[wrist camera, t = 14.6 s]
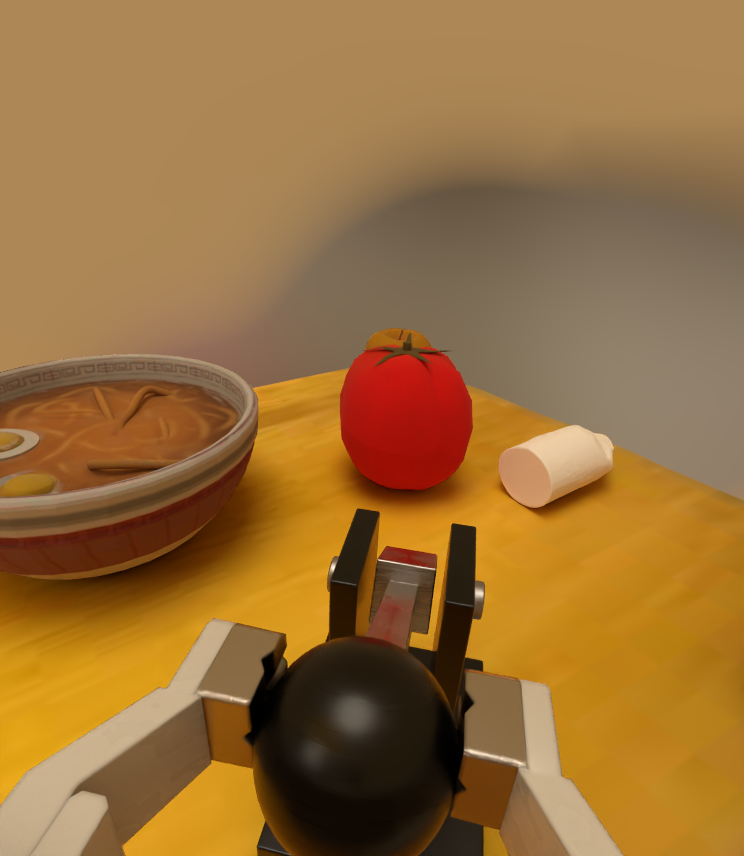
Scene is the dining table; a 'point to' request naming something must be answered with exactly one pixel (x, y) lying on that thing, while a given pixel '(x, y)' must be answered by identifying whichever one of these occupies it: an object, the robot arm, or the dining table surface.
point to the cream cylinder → (554, 464)
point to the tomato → (405, 416)
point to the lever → (361, 732)
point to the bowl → (116, 459)
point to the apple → (397, 338)
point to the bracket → (460, 603)
